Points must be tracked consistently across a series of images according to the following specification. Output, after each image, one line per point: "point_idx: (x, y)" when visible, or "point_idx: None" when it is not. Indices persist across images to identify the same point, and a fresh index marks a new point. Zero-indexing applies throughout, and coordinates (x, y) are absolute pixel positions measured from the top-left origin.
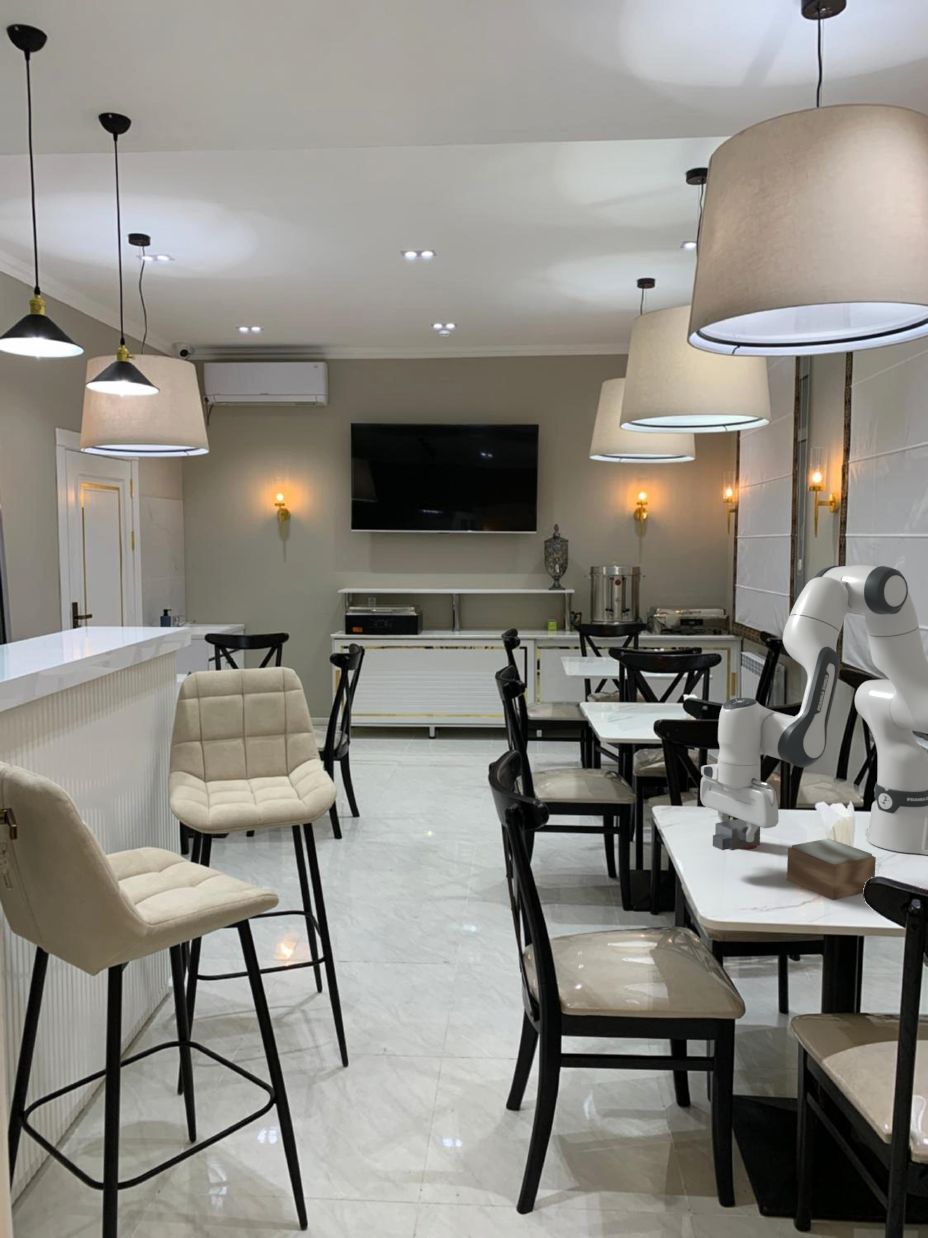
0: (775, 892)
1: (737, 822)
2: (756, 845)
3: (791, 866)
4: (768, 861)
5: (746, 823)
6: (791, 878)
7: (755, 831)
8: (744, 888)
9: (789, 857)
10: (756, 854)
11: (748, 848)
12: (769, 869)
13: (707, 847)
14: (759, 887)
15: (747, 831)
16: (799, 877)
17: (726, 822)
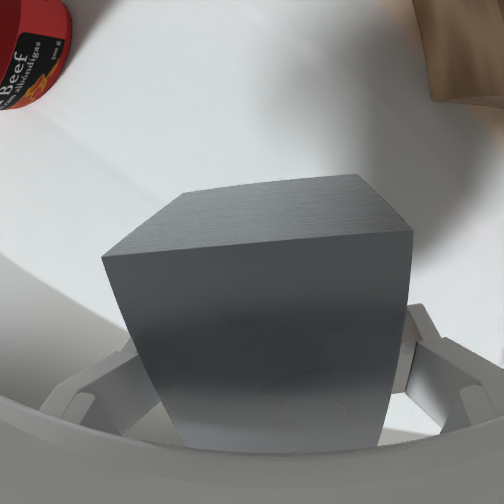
0: (491, 236)
1: (232, 400)
2: (64, 5)
3: (485, 100)
4: (207, 19)
5: (297, 354)
6: (459, 101)
7: (462, 350)
8: None
9: (497, 98)
10: (122, 30)
11: (70, 39)
12: (300, 72)
13: (33, 180)
14: (443, 256)
15: (430, 409)
16: (501, 105)
17: (205, 445)
